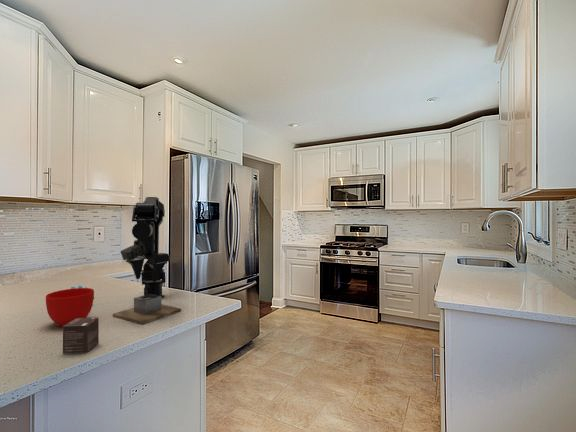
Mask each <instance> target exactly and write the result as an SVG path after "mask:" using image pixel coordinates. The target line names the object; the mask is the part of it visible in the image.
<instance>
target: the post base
mask: <svg viewBox="0 0 576 432" xmlns="http://www.w3.org/2000/svg"><path fill="white" fill-rule="evenodd" d="M144 299H150V298H144ZM181 311H182V308H181V307H176V306H173V305H168V304H164V303H161V310H159V311H156V312H153V313H150V314H147V315H144V314H140V313H136V312H134V307H132V308H128V309H125V310H120V311H117V312H114V313H112V317H114V318H115V319H120V320H124V321H126V322H130V323H135V324H137V325H142V326H143V325H145V324H148V323H150V322H153V321H156V320H160V319H162V318H163V319H164V318H165V317H169V316H172V315H174V314H176V313H180V312H181Z"/></svg>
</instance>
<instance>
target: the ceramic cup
mask: <svg viewBox="0 0 576 432" xmlns="http://www.w3.org/2000/svg"><path fill="white" fill-rule="evenodd" d="M94 300H95V290H94V288H90V287H87V288H85V287H82V288H78V287H75V288H74V289H71V288H67V289H60V290H56V291H53V292H50V293H48V294H46V295H45V307H46V311H47V314H48V316H49V319H51V321H52V322H53V323H55V324H56V325H57V326H58V327H62V328H63V326H64V325H65V324H67V323H69V322H71V321H73V320H74V319H76V318H88V315H90V313H91V311H92V307H93V304H94Z"/></svg>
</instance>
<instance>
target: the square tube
mask: <svg viewBox="0 0 576 432" xmlns="http://www.w3.org/2000/svg"><path fill="white" fill-rule="evenodd" d="M144 298H150V299H144ZM161 304H162V297H161V296H158V295H153V294H148V295H144V294H143V295H140V296H136V297H133V308H134V312H136V313H140V314H144V315H147V314H150V313H153V312H156V311H159V310H161Z"/></svg>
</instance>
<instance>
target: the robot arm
mask: <svg viewBox="0 0 576 432" xmlns="http://www.w3.org/2000/svg"><path fill="white" fill-rule="evenodd" d="M165 212H166V211H165V204H164V203H162V202H161V201H160V199H159V197H157V196H147V197H145V199H144V201H143V202H136V203H135V205H133V208H132V218H131V222H133V223H134V222H136V223H135V224H133V227H132V228H131V234H132V236H133V237H134V238H135V240H134V241H133V244H132V245H130V246H128V247H126V248H124V249H122V250H121V251H120V255H121V257H122V260H123V261H125V263H127V264H129V265H130V266H131V268H132V271H133V273H134V276H135V279H136V280H140V279H141V285H144V288H143V296H144V295H148V294H153V295H158V296H161V298H163V297H165V295H164V294H163V284H165V283H166V280H167V279H166V271H164V267H165V265H166V264H168V262H170V259H171V258H170V257H171V256H170V255H169V253H166V252H159V251H160V250H159V249H160V248H159V247H160V246H159V245H160V226H161V225H162V224H163V222H164V218H165V217H166V215H165V214H166V213H165ZM145 260H146V261H145ZM144 262H145V263H144Z"/></svg>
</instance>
